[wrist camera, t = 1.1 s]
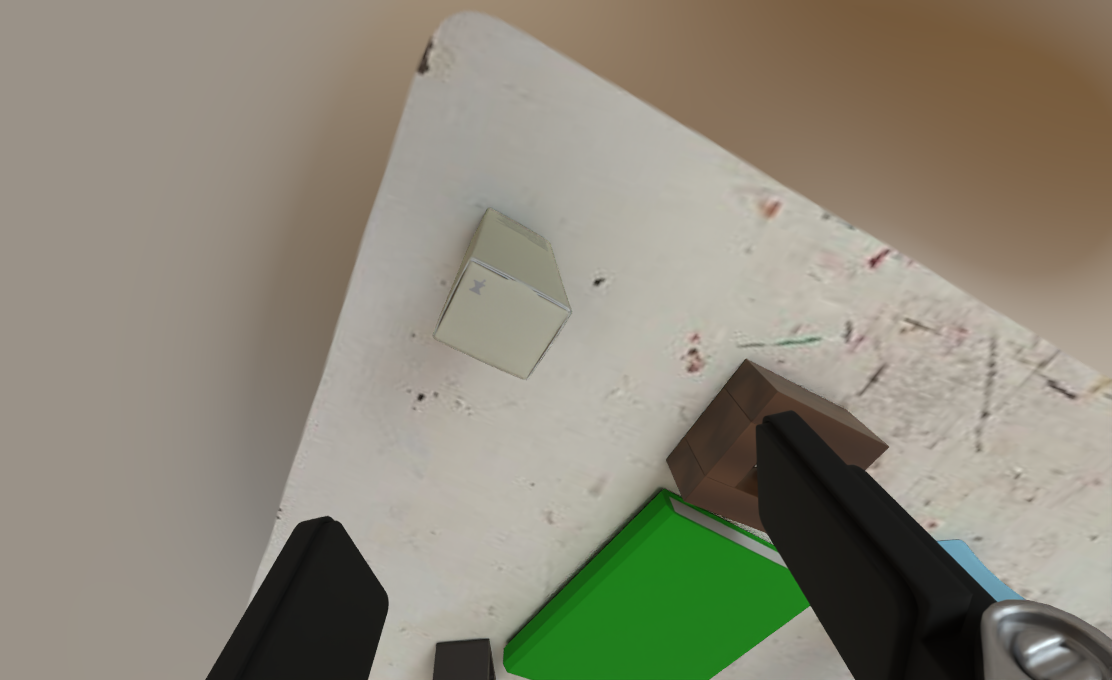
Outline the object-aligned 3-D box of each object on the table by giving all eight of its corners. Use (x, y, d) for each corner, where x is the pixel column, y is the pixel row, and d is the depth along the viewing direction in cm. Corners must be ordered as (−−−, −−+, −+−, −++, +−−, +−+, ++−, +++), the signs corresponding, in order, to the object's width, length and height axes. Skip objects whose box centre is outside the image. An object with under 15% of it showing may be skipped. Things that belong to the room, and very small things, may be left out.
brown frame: (746, 358, 35) (778, 391, 31) (847, 410, 38) (890, 446, 34) (665, 459, 40) (683, 501, 35) (762, 499, 42) (790, 542, 38)
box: (461, 260, 30) (421, 337, 19) (489, 204, 29) (464, 251, 17) (526, 294, 32) (526, 386, 20) (557, 243, 30) (575, 310, 19)
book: (812, 565, 47) (829, 591, 45) (650, 690, 56) (656, 718, 54) (659, 485, 41) (668, 510, 38) (504, 641, 50) (502, 670, 47)
